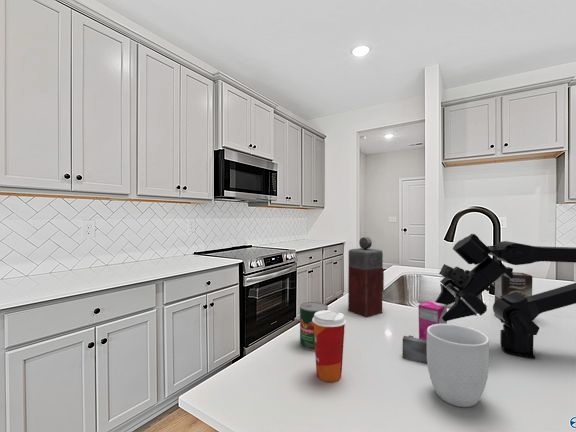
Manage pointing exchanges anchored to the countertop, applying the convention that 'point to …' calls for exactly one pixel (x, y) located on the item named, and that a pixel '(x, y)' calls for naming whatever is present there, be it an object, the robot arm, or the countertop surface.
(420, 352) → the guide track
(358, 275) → the pepper mill
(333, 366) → the paper cup
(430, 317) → the supplement box
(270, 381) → the countertop surface
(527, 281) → the coffee box
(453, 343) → the mug
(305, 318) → the canned tomato
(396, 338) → the countertop surface
